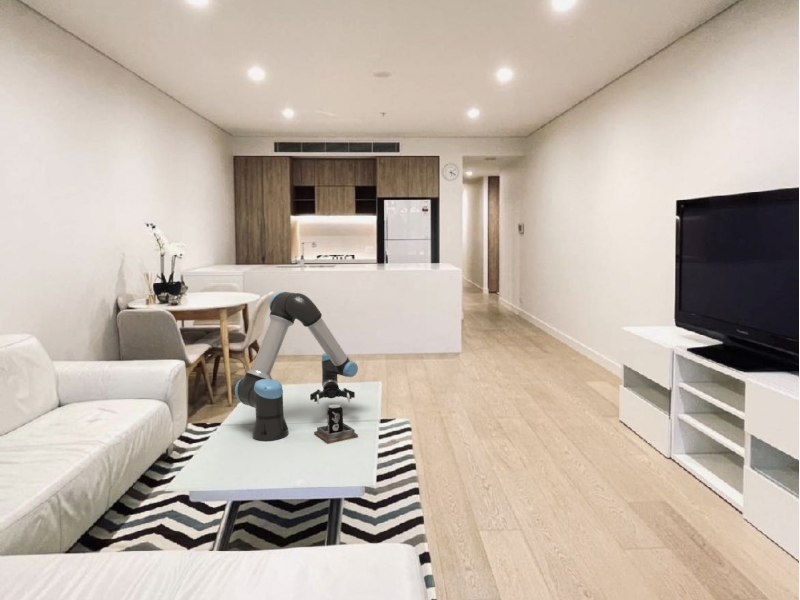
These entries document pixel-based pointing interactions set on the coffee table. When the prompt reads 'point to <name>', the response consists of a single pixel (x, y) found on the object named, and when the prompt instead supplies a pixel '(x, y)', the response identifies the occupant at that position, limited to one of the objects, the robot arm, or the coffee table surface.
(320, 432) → the tray
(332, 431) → the beverage can
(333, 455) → the coffee table surface
